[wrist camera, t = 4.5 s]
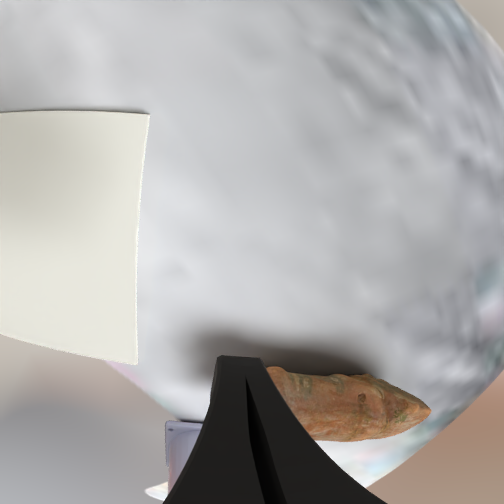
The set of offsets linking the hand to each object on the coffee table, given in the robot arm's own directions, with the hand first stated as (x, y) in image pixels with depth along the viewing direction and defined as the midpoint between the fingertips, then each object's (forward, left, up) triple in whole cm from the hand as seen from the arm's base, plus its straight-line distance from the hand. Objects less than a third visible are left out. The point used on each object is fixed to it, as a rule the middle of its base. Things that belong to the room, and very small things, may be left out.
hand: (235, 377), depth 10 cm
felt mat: (-1, +12, -9) cm, 15 cm away
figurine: (-9, -3, -3) cm, 10 cm away
